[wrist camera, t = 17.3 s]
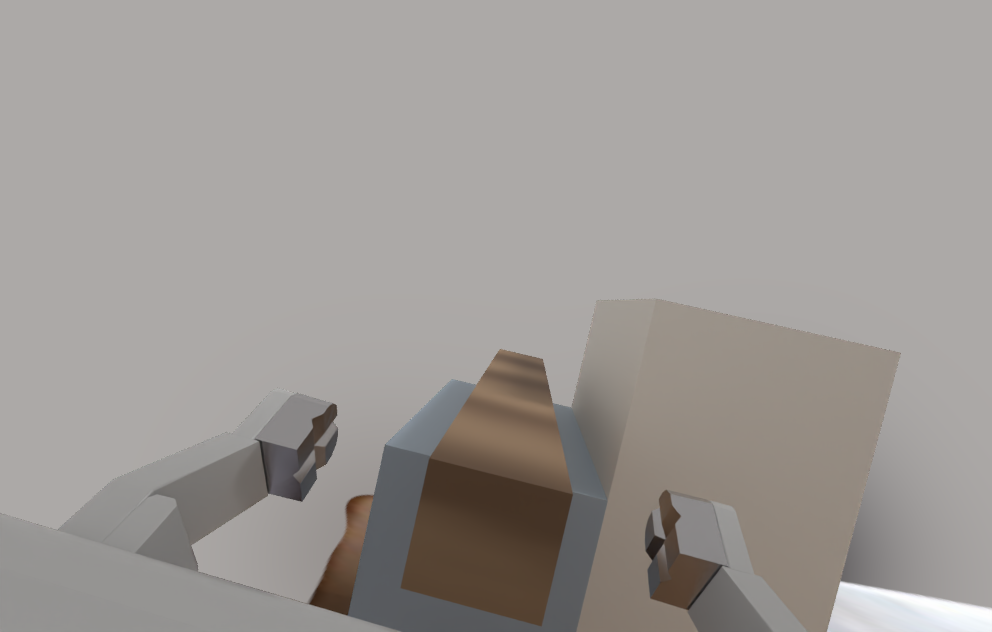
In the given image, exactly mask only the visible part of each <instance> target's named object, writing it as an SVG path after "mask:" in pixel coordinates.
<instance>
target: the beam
mask: <svg viewBox="0 0 992 632" xmlns="http://www.w3.org/2000/svg"><path fill="white" fill-rule="evenodd" d="M572 497H573V492H572V487H571V483H570V478H569V474H568V469H567V465H566V461H565V456H564V452H563V447H562V443H561V438H560V434H559V429H558V425H557V420H556V416H555V412H554V407H553V403H552V398H551V394H550V389H549V385H548V380H547V376H546V371H545V367H544V363H543V359H540V358H536V357H532V356H528V355H523V354H519V353H515V352H510V351H506V350H502V349H500V350H499V351H498V353H497V354H496V356H495V357H494V359H493V360H492V362H491V364H490V365H489V367H488V368H487V370H486V371H485V373H484V374H483V376H482V377H481V379H480V381H479V382H478V384H477V385H476V387H475V388H474V390H473V391H472V393H471V394H470V396H469V398H468V399H467V401H466V402H465V404H464V405H463V407H462V408H461V410H460V411H459V413H458V414H457V416H456V418H455V419H454V421H453V422H452V424H451V425H450V427H449V428H448V430H447V431H446V433H445V435H444V436H443V438H442V439H441V441H440V442H439V444H438V445H437V447H436V448H435V450H434V452H433V453H432V455H431V456H430V458H429V461H428V466H427V470H426V475H425V479H424V484H423V488H422V493H421V497H420V502H419V506H418V511H417V515H416V520H415V524H414V529H413V533H412V538H411V542H410V547H409V551H408V556H407V560H406V565H405V569H404V574H403V578H402V583H401V587H400V588H401V589H405V590H409V591H413V592H416V593H420V594H424V595H427V596H431V597H435V598H438V599H442V600H446V601H449V602H453V603H457V604H460V605H464V606H468V607H471V608H475V609H479V610H483V611H486V612H490V613H494V614H497V615H501V616H505V617H508V618H512V619H516V620H519V621H523V622H527V623H530V624H534V625H538V626H541V627H542V623H543V619H544V615H545V610H546V606H547V602H548V598H549V594H550V589H551V585H552V581H553V577H554V572H555V568H556V564H557V560H558V556H559V551H560V547H561V543H562V539H563V535H564V530H565V526H566V522H567V518H568V514H569V509H570V505H571V501H572Z"/></svg>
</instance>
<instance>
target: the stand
mask: <svg viewBox="0 0 992 632" xmlns="http://www.w3.org/2000/svg"><path fill="white" fill-rule="evenodd" d="M900 354H901V353H899V352H895V351H890V350H886V349H882V348H877V347H873V346H868V345H863V344H859V343H854V342H850V341H845V340H841V339H836V338H832V337H827V336H822V335H818V334H813V333H809V332H805V331H800V330H796V329H791V328H787V327H782V326H778V325H773V324H769V323H764V322H760V321H755V320H751V319H746V318H741V317H737V316H732V315H728V314H723V313H719V312H714V311H710V310H705V309H701V308H696V307H692V306H687V305H683V304H678V303H673V302H669V301H664V300H660V299H632V300H598V301H596V306H595V310H594V314H593V318H592V323H591V327H590V331H589V335H588V340H587V344H586V348H585V352H584V357H583V361H582V365H581V369H580V374H579V378H578V382H577V386H576V391H575V395H574V399H573V403H572V408H571V407H566V406H562V405H558V404H554V403H553V407H554V412H555V416H556V420H557V425H558V429H559V434H560V438H561V443H562V447H563V452H564V456H565V461H566V465H567V469H568V474H569V478H570V483H571V487H572V492H573V497H572V501H571V505H570V509H569V514H568V518H567V522H566V526H565V530H564V535H563V539H562V543H561V547H560V551H559V556H558V560H557V564H556V568H555V572H554V577H553V581H552V585H551V589H550V594H549V598H548V602H547V606H546V610H545V615H544V619H543V623H542V627H541V626H538V625H534V624H530V623H527V622H523V621H519V620H516V619H512V618H508V617H505V616H501V615H497V614H494V613H490V612H486V611H483V610H479V609H475V608H471V607H468V606H464V605H460V604H457V603H453V602H449V601H446V600H442V599H438V598H435V597H431V596H427V595H424V594H420V593H416V592H413V591H409V590H405V589H401V588H400V587H401V583H402V578H403V574H404V569H405V565H406V560H407V556H408V551H409V547H410V542H411V538H412V533H413V529H414V524H415V520H416V515H417V511H418V506H419V502H420V497H421V493H422V488H423V484H424V479H425V475H426V470H427V466H428V461H429V458H430V456H431V455H432V453H433V452H434V450H435V448H436V447H437V445H438V444H439V442H440V441H441V439H442V438H443V436H444V435H445V433H446V431H447V430H448V428H449V427H450V425H451V424H452V422H453V421H454V419H455V418H456V416H457V414H458V413H459V411H460V410H461V408H462V407H463V405H464V404H465V402H466V401H467V399H468V398H469V396H470V394H471V393H472V391H473V390H474V388H475V387H476V385H475V384H470V383H466V382H462V381H458V380H454V379H452V380H451V381H450V382H449V383H448V384H447V385H446V386H444V387H443V388H442V390H440V391H439V392H438V393H437V394H436V395H435V396H434V397H433V398H432V399H431V400H430V401H429V402H428V403H427V404H426V405H425V406H424V407H423V408H422V409H421V410H420V411H419V412H418V413H417V414H416V415H415V416H414V417H413V418H412V419H411V420H410V421H409V422H408V423H407V424H406V425H405V426H404V427H403V428H402V429H401V430H400V431H399V432H397V433H396V434H395V435H394V436H393V437H392V438H391V439H390V440H389V441H388V442H387V443H386V444H385V447H384V452H383V456H382V461H381V466H380V470H379V475H378V479H377V484H376V488H375V493H374V497H373V502H372V507H371V511H370V516H369V520H368V525H367V530H366V534H365V539H364V543H363V548H362V553H361V557H360V562H359V566H358V571H357V575H356V580H355V585H354V589H353V594H352V598H351V603H350V608H349V612H348V616H350V617H354V618H357V619H361V620H364V621H367V622H371V623H374V624H378V625H381V626H384V627H388V628H391V629H395V630H398V631H401V632H698V630H697V628H696V627H695V625H694V623H693V621H692V620H691V618H690V616H689V614H688V613H687V612H688V610H686V609H682V608H679V607H676V606H673V605H669V604H666V603H663V602H660V601H656V600H653V599H650V592H649V582H648V572H647V569H648V568H649V566H650V564H651V562H652V560H651V558H650V557H649V555H648V554H647V552H646V550H645V530H646V525H647V521H648V518H649V516H650V514H651V512H652V511H653V510H655V509H658V508H660V506H659V498H660V496H661V494H662V492H664V491H665V490H670V491H674V492H678V493H682V494H686V495H690V496H694V497H698V498H702V499H706V500H708V501H713V502H717V503H721V504H725V505H729V506H732V507H733V508H734V509H735V511H736V514H737V517H738V521H739V524H740V528H741V531H742V534H743V538H744V541H745V544H746V548H747V551H748V554H749V558H750V561H751V564H752V568H753V571H754V574H755V575H758V576H761V577H762V578H763V579H764V580H765V582H766V583H767V584H768V585H769V586H770V587H771V589H772V590H773V591H774V592H775V593H776V595H777V596H778V597H779V598H780V599H781V600H782V602H783V603H784V604H785V605H786V606H787V608H788V609H789V610H790V611H791V612H792V614H793V615H794V616H795V617H796V618H797V619H798V621H799V622H800V623H801V624H802V625H803V627H804V628H805V629H806V630H807V631H808V632H827V629H828V625H829V621H830V617H831V614H832V610H833V606H834V602H835V599H836V595H837V591H838V587H839V583H840V580H841V576H842V572H843V568H844V564H845V560H846V557H847V553H848V550H849V546H850V542H851V538H852V535H853V531H854V527H855V523H856V519H857V516H858V512H859V508H860V505H861V501H862V497H863V493H864V490H865V486H866V482H867V478H868V474H869V471H870V467H871V463H872V460H873V456H874V452H875V448H876V445H877V441H878V436H879V433H880V429H881V426H882V422H883V418H884V414H885V411H886V407H887V403H888V399H889V395H890V392H891V388H892V384H893V381H894V377H895V373H896V369H897V366H898V362H899V358H900Z"/></svg>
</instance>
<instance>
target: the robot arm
mask: <svg viewBox="0 0 992 632" xmlns="http://www.w3.org/2000/svg"><path fill="white" fill-rule="evenodd" d="M336 416H337V406H336V405H335V404H333V403H330V402H326V401H323V400H319V399H316V398H312V397H309V396H306V395H302V394H298V393H294V392H291V391H287V390H284V389H280V388H277V389H275V390H273V391H271V392H270V393H269V394H268V395H267V396H266V397H265V398H264V400H263V401H262V402H261V403H260V404H259V405H258V406H257V407H256V408H255V409H254V410H253V411H252V412H251V414H250V415H249V416H248V417H247V418H246V419H245V420H244V421H243V422H242V423H241V424H240V425H239V426H238V428H237V429H236V430H235V431H234V432H233V433H228V432H225V433H223V434H221V435H218V436H216V437H213V438H211V439H209V440H207V441H204V442H201V443H199V444H197V445H194V446H192V447H189V448H187V449H185V450H182V451H180V452H177V453H175V454H173V455H171V456H168V457H165V458H163V459H161V460H158V461H156V462H153V463H151V464H149V465H146V466H144V467H141V468H140V469H137V470H135V471H132V472H129V473H127V474H125V475H122V476H120V477H117V478H115V479H113V480H112V481H111V482H110V483H108V484H107V485H106V486H105V487H104V488H103V489H102V490H101V491H100V492H98V493H97V495H95V496H94V497H93V498H92V499H91V500H90V501H89V502H88V503H86V504H85V505H84V506H83V507H82V508H81V509H80V510H79V511H78V512H76V513H75V514H74V515H73V516H72V517H71V518H70V519H69V520H68V521H67V522H65V523H64V524H63V525H62V526H61V527H60V528H59V529H58V530H55V529H52V528H49V527H45V526H42V525H38V524H35V523H32V522H28V521H25V520H22V519H18V518H15V517H11V516H8V515H5V514H1V513H0V632H401V631H398V630H395V629H391V628H388V627H384V626H381V625H378V624H374V623H371V622H367V621H364V620H361V619H357V618H354V617H350V616H347V615H344V614H340V613H337V612H334V611H330V610H327V609H323V608H320V607H317V606H313V605H310V604H306V603H303V602H300V601H296V600H293V599H289V598H286V597H282V596H279V595H276V594H272V593H269V592H266V591H262V590H259V589H255V588H252V587H249V586H245V585H242V584H239V583H235V582H231V581H228V580H225V579H222V578H218V577H214V576H211V575H208V574H205V573H201V572H198V565H197V561H196V558H195V556H194V553H193V550H192V547H191V545H192V544H194V543H195V542H197V541H198V540H200V539H202V538H203V537H205V536H206V535H208V534H209V533H211V532H212V531H214V530H216V529H217V528H219V527H220V526H222V525H223V524H225V523H226V522H228V521H229V520H231V519H233V518H234V517H236V516H237V515H239V514H240V513H242V512H243V511H245V510H246V509H248V508H249V507H251V506H253V505H254V504H256V503H257V502H259V501H260V500H262V499H263V498H265V497H267V496H268V493H269V494H273V495H277V496H281V497H285V498H289V499H293V500H297V501H301V502H302V501H303V500H304V498H305V497H306V495H307V494H308V492H309V490H310V489H311V487H312V486H313V484H314V482H315V481H316V479H317V476H316V470H317V469H319V468H320V467H322V466H324V465H326V464H327V462H328V460H329V459H330V457H331V456H332V453H333V451H334V448H335V446H336V442H337V437H338V428H337V426H336V425H335V424H334V422H333V420H334V419H335V418H336ZM659 506H660V508H658V509H655V510H653V511H652V512H651V514H650V516H649V518H648V521H647V525H646V530H645V550H646V552H647V554H648V555H649V557H650V558H651V560H652V562H651V564H650V566H649V568H648V569H647V572H648V582H649V592H650V599H653V600H656V601H660V602H663V603H666V604H669V605H673V606H676V607H679V608H682V609H686V610H688V612H687V613H688V614H689V616H690V618H691V620H692V621H693V623H694V625H695V627H696V628H697V630H698V632H808V631H807V630H806V629H805V628H804V627H803V625H802V624H801V623H800V622H799V621H798V619H797V618H796V617H795V616H794V615H793V614H792V612H791V611H790V610H789V609H788V608H787V606H786V605H785V604H784V603H783V602H782V600H781V599H780V598H779V597H778V596H777V595H776V593H775V592H774V591H773V590H772V589H771V587H770V586H769V585H768V584H767V583H766V582H765V580H764V579H763V578H762V577H761V576H758V575H755V574H754V571H753V568H752V564H751V561H750V558H749V554H748V551H747V548H746V544H745V541H744V538H743V534H742V531H741V528H740V524H739V521H738V517H737V514H736V511H735V509H734V508H733V507H732V506H729V505H725V504H721V503H717V502H713V501H708V500H706V499H702V498H698V497H694V496H690V495H686V494H682V493H678V492H674V491H670V490H665V491H664V492H662V494H661V496H660V498H659Z"/></svg>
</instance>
